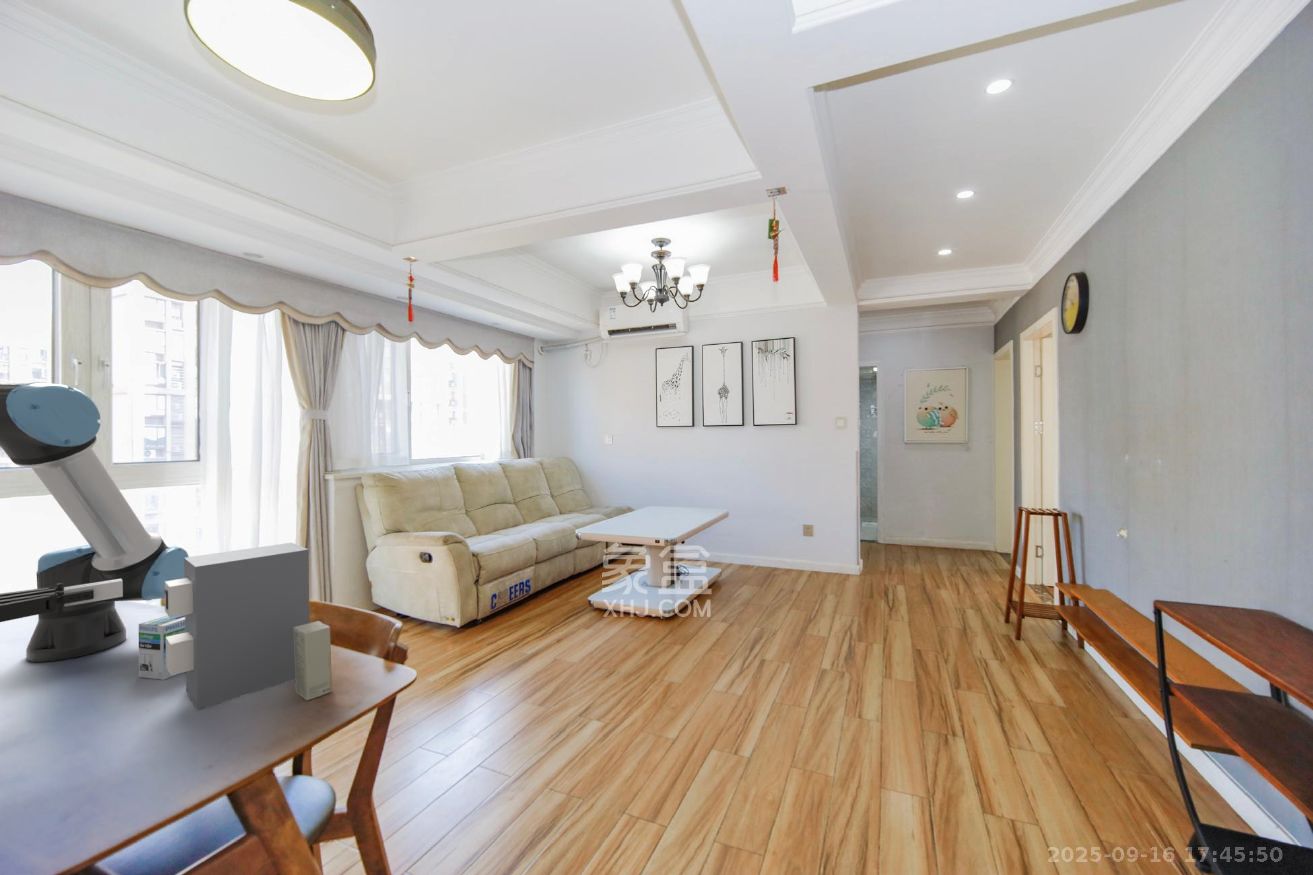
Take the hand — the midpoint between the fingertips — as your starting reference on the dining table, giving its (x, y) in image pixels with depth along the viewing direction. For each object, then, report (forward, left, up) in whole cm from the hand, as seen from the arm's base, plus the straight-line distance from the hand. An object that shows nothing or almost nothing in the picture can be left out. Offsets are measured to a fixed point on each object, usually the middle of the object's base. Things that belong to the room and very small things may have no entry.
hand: (121, 587), depth 88 cm
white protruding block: (+2, +8, -6) cm, 10 cm away
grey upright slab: (+2, +17, -22) cm, 28 cm away
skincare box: (+16, +23, -22) cm, 36 cm away
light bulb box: (-18, +9, -22) cm, 30 cm away
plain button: (+2, +8, -16) cm, 18 cm away
